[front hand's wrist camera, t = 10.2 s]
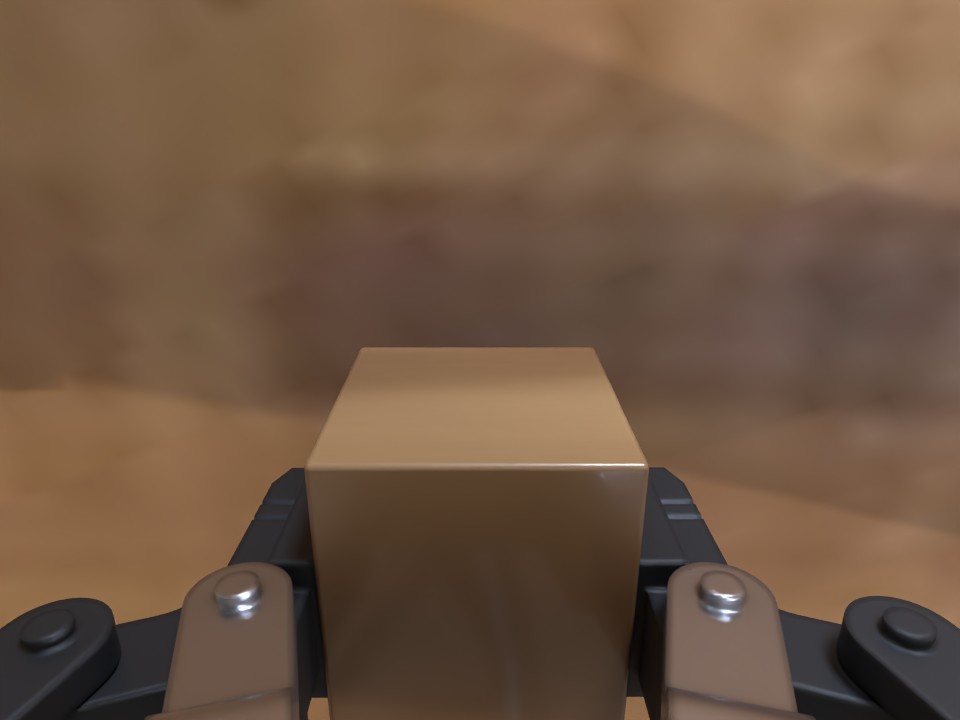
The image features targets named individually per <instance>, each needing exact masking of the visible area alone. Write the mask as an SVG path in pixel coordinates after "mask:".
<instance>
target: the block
mask: <svg viewBox="0 0 960 720" xmlns="http://www.w3.org/2000/svg"><path fill="white" fill-rule="evenodd" d="M304 472H305V482H306V492H307V501H308V511H309V521H310V530H311V540H312V550H313V560H314V569H315V579H316V589H317V599H318V608H319V618H320V628H321V637H322V647H323V657H324V667H325V676H326V686H327V696H328V706H329V715H330V720H624V717H625V707H626V697H627V687H628V677H629V667H630V657H631V646H632V636H633V626H634V616H635V606H636V596H637V586H638V576H639V566H640V556H641V546H642V535H643V525H644V515H645V505H646V495H647V485H648V475H649V466H648V463H647V461H646V459H645V457H644V455H643V453H642V450H641V448H640V446H639V444H638V442H637V440H636V438H635V435H634V433H633V431H632V429H631V427H630V425H629V422H628V420H627V418H626V416H625V414H624V412H623V410H622V407H621V405H620V403H619V401H618V399H617V397H616V395H615V392H614V390H613V388H612V386H611V384H610V382H609V380H608V377H607V375H606V373H605V371H604V369H603V367H602V365H601V362H600V360H599V358H598V356H597V354H596V352H595V350H594V349H593V348H591V347H364V348H362V349H360V352H359V354H358V356H357V358H356V360H355V362H354V364H353V366H352V368H351V370H350V372H349V374H348V377H347V379H346V381H345V383H344V385H343V387H342V389H341V391H340V393H339V395H338V397H337V399H336V402H335V404H334V406H333V408H332V410H331V412H330V414H329V416H328V418H327V420H326V422H325V424H324V426H323V429H322V431H321V433H320V435H319V437H318V439H317V441H316V443H315V445H314V447H313V449H312V451H311V454H310V456H309V458H308V460H307V462H306V464H305V467H304Z"/></svg>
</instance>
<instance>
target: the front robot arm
mask: <svg viewBox="0 0 960 720" xmlns="http://www.w3.org/2000/svg"><path fill="white" fill-rule="evenodd" d="M627 697H644V700H645V703H646V707H647V710H648V714H649V718H650V720H960V629H959V628H957V627H956V626H955V625H953V624H952V623H950V622H949V621H948V620H946V619H945V618H943V617H942V616H940V615H938V614H936V613H935V612H933V611H931V610H929V609H927V608H925V607H922V606H920V605H917V604H915V603H912V602H909V601H905V600H902V599H898V598H892V597H885V596H868V597H863V598H859V599H857V600H854V601H853V602H851V603H850V604H849V605H848V606H847V608H846V610H845V613H844V617H843V621H842V625H841V624H836V623H832V622H827V621H823V620H818V619H814V618H809V617H805V616H800V615H796V614H792V613H788V612H785V611H782V610H780V609H778V606H777V602H776V599H775V597H774V595H773V594H772V592H771V591H770V590H769V588H768V587H767V586H766V585H765V584H764V583H762V582H761V581H760V580H759V579H757V578H756V577H754V576H753V575H751V574H749V573H747V572H745V571H743V570H741V569H738V568H736V567H732V566H729V565H727V563H726V561H725V559H724V557H723V555H722V553H721V552H720V550H719V548H718V546H717V544H716V542H715V540H714V538H713V537H712V535H711V533H710V531H709V529H708V527H707V525H706V523H705V522H704V520H703V519H701V514H700V512H699V510H698V508H697V507H696V505H695V504H693V499H692V497H691V495H690V493H689V492H688V490H687V488H686V486H685V484H684V483H683V482H682V481H681V480H679V479H678V478H677V477H676V476H674V475H673V474H672V473H670V472H669V471H668V470H666V469H665V468H649V475H648V485H647V495H646V505H645V515H644V525H643V535H642V546H641V556H640V566H639V576H638V586H637V596H636V606H635V616H634V626H633V636H632V646H631V657H630V667H629V677H628V687H627ZM311 698H328V696H327V686H326V676H325V667H324V657H323V647H322V637H321V628H320V618H319V608H318V599H317V589H316V579H315V569H314V560H313V550H312V540H311V530H310V521H309V511H308V501H307V492H306V482H305V472H304V468H292V469H290V470H289V471H288V472H287V473H285V474H284V475H283V476H281V477H280V478H279V479H277V480H276V481H275V482H273V483H272V485H271V487H270V488H269V490H268V492H267V494H266V496H265V498H264V499H263V504H262V505H260V507H259V509H258V511H257V512H256V514H255V519H254V520H252V522H251V523H250V525H249V527H248V529H247V531H246V533H245V534H244V536H243V538H242V540H241V542H240V544H239V546H238V547H237V549H236V551H235V553H234V555H233V557H232V558H231V560H230V562H229V564H228V566H227V567H224V568H222V569H219V570H217V571H215V572H213V573H211V574H209V575H207V576H206V577H204V578H203V579H201V580H200V581H199V582H198V583H196V584H195V585H194V586H193V587H192V588H191V590H190V591H189V592H188V594H187V595H186V597H185V599H184V602H183V606H182V608H180V609H178V610H175V611H172V612H169V613H166V614H162V615H158V616H154V617H150V618H145V619H141V620H136V621H131V622H127V623H122V624H118V625H115V620H114V616H113V613H112V610H111V609H110V608H109V606H108V605H106V604H105V603H103V602H101V601H99V600H95V599H90V598H71V599H65V600H59V601H55V602H52V603H48V604H45V605H43V606H40V607H37V608H35V609H33V610H30V611H28V612H26V613H24V614H23V615H21V616H19V617H17V618H16V619H14V620H13V621H11V622H10V623H8V624H7V625H5V626H4V627H3V628H1V629H0V720H308V714H307V712H308V708H309V705H310V701H311Z"/></svg>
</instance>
